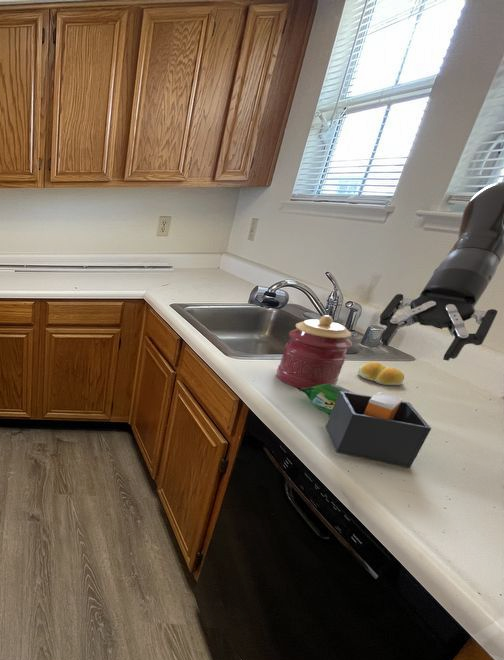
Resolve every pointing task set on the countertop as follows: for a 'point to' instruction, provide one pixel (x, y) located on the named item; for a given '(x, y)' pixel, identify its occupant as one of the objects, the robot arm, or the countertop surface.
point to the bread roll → (381, 374)
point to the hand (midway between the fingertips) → (414, 350)
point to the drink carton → (383, 406)
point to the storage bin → (376, 431)
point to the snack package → (324, 395)
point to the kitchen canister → (314, 353)
